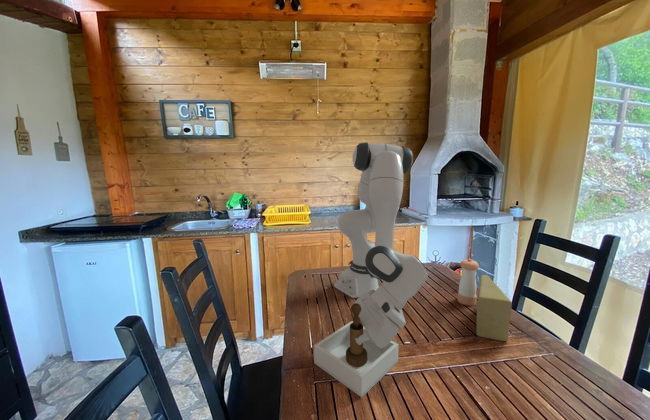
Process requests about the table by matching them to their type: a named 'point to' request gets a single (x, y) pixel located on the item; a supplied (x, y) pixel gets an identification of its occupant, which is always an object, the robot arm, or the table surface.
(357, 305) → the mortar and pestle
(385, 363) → the open box
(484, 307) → the cheese
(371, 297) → the robot arm
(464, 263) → the pepper shaker
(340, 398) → the table surface
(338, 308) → the table surface
